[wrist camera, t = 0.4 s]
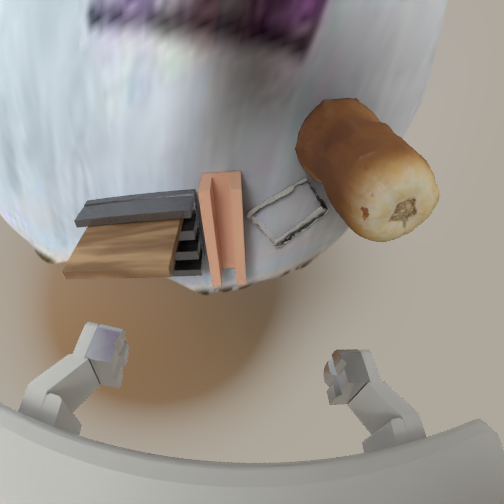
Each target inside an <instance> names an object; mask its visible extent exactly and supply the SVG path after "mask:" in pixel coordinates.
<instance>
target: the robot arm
mask: <svg viewBox="0 0 504 504" xmlns="http://www.w3.org/2000/svg"><path fill="white" fill-rule="evenodd" d="M125 337H126V334H125V330H124V329H119V328H114V327H110V326H105V325H101V324H97V323H92V322H87V323H86V324H85V326H84V329H83V331H82V333H81V335H80V338H79V340H78V342H77V345H76V347H75V350H74V352H73V354H69V355H67V356H66V357H64V358H63V359H61V360H60V361H59V362H57V363H56V364H55V365H53V366H52V367H51V368H49V369H48V370H46V371H45V372H44V373H42V374H41V375H40V376H38V377H37V378H36V379H34V380H33V381H31V382H30V383H29V384H28V387H27V389H26V392H25V394H24V397H23V400H22V402H21V405H20V408H19V411H16V410H14V409H12V408H10V407H8V406H6V405H4V404H2V403H0V504H504V450H503V447H502V443H501V441H500V438H499V436H498V434H497V433H496V432H495V431H494V430H493V429H492V428H491V427H490V426H489V425H488V424H487V423H485V422H484V421H482V420H480V419H476V420H473V421H471V422H468V423H465V424H463V425H460V426H458V427H455V428H452V429H450V430H447V431H444V432H441V433H438V434H436V435H432V436H429V437H426V435H425V431H424V428H423V425H422V422H421V419H420V416H419V413H418V412H417V411H416V410H415V409H414V408H413V407H412V406H411V405H409V404H408V403H407V402H406V401H405V400H404V399H403V398H402V397H401V396H400V395H399V394H398V393H397V392H395V391H394V390H393V389H392V388H391V387H390V386H389V385H388V384H387V383H386V382H385V381H381V379H380V376H379V373H378V370H377V367H376V364H375V361H374V359H373V356H372V353H371V352H370V350H357V349H356V350H336V351H334V353H333V354H332V358H333V359H331V360H329V361H328V362H327V363H326V365H325V368H324V380H325V383H326V384H327V385H328V386H329V388H328V390H327V394H328V399H329V403H330V405H333V404H334V405H336V404H348V406H349V407H350V409H351V410H352V411H353V412H354V414H355V415H356V416H357V417H358V419H359V420H360V421H361V422H362V423H363V425H364V426H365V427H366V428H367V430H368V431H369V432H370V433H371V436H370V437H368V438H367V439H365V440H364V441H363V443H362V444H363V449H364V453H362V454H356V455H349V456H344V457H336V458H329V459H320V460H310V461H299V462H281V463H232V462H231V463H230V462H214V461H213V462H212V461H201V460H192V459H183V458H175V457H168V456H162V455H156V454H150V453H145V452H140V451H135V450H130V449H125V448H122V447H118V446H114V445H110V444H106V443H102V442H99V441H95V440H92V439H88V438H85V437H82V436H79V434H80V430H81V423H80V421H79V420H78V419H77V418H76V417H75V415H74V414H73V412H74V411H75V410H76V409H77V408H78V407H79V406H80V405H81V404H82V403H83V402H84V401H85V400H86V399H87V398H88V397H89V396H90V395H91V394H92V393H93V392H94V391H95V390H96V389H97V388H98V387H99V386H100V384H102V385H106V386H111V387H116V388H120V386H121V383H122V379H123V375H124V374H123V371H122V368H123V367H124V366H125V365H126V364H127V360H128V352H129V349H128V343H127V341H126V340H125Z"/></svg>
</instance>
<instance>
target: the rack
mask: <svg viewBox="0 0 504 504" xmlns="http://www.w3.org/2000/svg"><path fill="white" fill-rule="evenodd" d="M182 218H184V220H183V224H182V229H181V233H180V237H179V241H178V246H177V250H176V254H175V259H174V260H176V263H175V268H174V273H173V276H196V275H202V270H203V261H204V254H205V253H204V247H203V241H202V235H201V229H200V222H199V216H198V209H197V203H196V196H195V189H192V190H179V191H168V192H157V193H147V194H137V195H128V196H120V197H112V198H104V199H96V200H89V201H87V202H86V203H85V206H84V208H83V209H82V210H81V212H80V213H79V215H78V216H77V218H76V219H75V224H76V226H77V227H86V226H96V225H107V224H118V223H129V222H141V221H154V220H168V219H182Z"/></svg>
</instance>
